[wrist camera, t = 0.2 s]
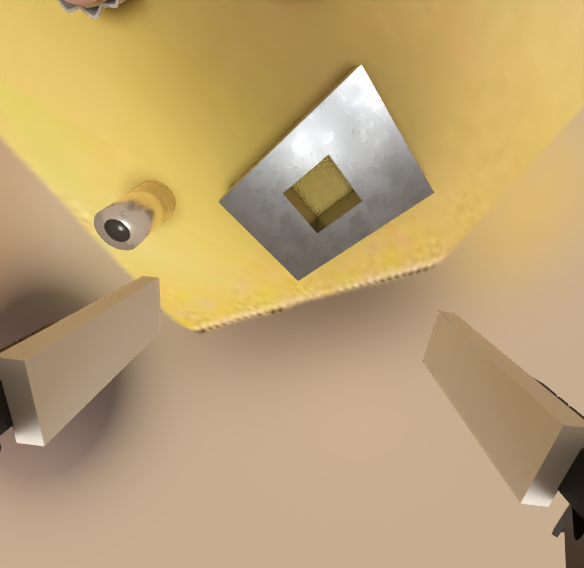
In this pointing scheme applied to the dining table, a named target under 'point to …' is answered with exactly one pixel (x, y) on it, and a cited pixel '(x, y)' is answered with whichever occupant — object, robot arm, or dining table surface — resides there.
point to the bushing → (134, 215)
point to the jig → (351, 162)
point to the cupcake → (89, 6)
